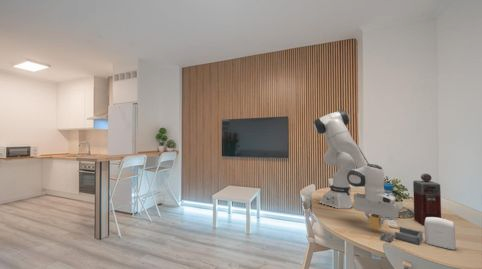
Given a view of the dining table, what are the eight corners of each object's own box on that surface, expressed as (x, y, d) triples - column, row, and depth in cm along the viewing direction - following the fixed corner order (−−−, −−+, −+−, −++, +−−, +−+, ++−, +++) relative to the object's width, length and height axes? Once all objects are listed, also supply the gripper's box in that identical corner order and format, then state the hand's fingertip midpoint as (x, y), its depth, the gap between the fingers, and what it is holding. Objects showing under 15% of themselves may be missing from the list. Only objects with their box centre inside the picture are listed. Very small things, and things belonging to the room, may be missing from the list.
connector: (370, 227, 114) (369, 215, 115) (372, 225, 117) (372, 213, 117) (378, 229, 112) (378, 216, 112) (381, 227, 114) (380, 214, 115)
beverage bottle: (379, 218, 133) (378, 185, 133) (378, 214, 140) (377, 182, 141) (396, 220, 129) (395, 186, 130) (394, 216, 137) (393, 183, 137)
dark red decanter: (425, 227, 119) (423, 175, 120) (413, 219, 130) (412, 172, 131) (444, 228, 117) (443, 175, 118) (431, 220, 128) (430, 172, 129)
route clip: (380, 240, 105) (380, 235, 105) (383, 236, 108) (383, 232, 108) (390, 242, 102) (390, 238, 102) (393, 239, 105) (393, 235, 105)
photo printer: (424, 243, 101) (423, 216, 101) (425, 240, 104) (424, 214, 104) (456, 251, 94) (455, 222, 94) (455, 247, 97) (454, 219, 97)
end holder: (395, 238, 106) (395, 232, 106) (400, 232, 113) (399, 226, 113) (419, 245, 99) (418, 238, 99) (422, 238, 106) (422, 231, 106)
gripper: (351, 193, 120) (352, 219, 120) (396, 200, 105) (397, 229, 105) (355, 191, 124) (356, 216, 124) (399, 198, 110) (400, 226, 110)
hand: (375, 222), depth 115 cm, fingers closed on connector, 4 cm apart
